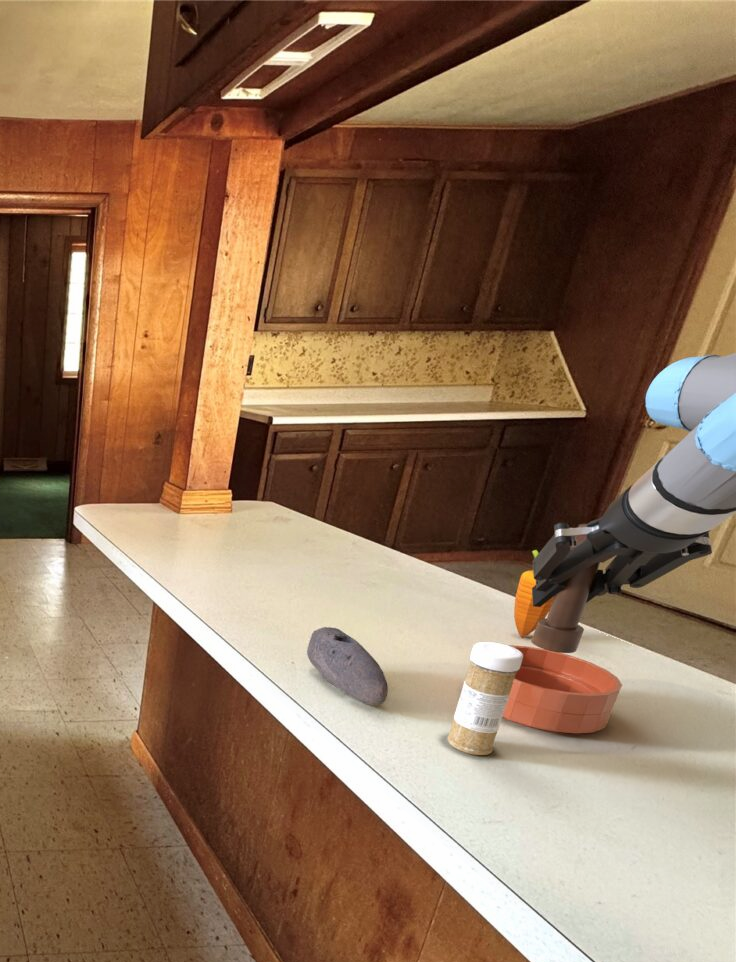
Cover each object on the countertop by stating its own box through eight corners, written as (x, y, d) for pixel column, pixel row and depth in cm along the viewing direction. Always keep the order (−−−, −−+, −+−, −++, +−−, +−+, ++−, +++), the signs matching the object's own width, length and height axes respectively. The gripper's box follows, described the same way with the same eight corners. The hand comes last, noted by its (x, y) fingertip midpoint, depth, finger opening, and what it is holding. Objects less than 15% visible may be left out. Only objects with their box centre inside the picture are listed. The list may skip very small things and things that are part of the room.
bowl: (591, 697, 91) (606, 659, 89) (618, 749, 80) (636, 706, 78) (463, 674, 98) (473, 637, 96) (471, 718, 87) (484, 678, 85)
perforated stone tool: (397, 715, 89) (409, 669, 86) (358, 716, 89) (369, 670, 86) (334, 664, 103) (342, 623, 100) (300, 665, 103) (308, 624, 100)
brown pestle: (572, 643, 86) (615, 524, 80) (579, 656, 83) (625, 533, 77) (528, 636, 89) (567, 520, 83) (534, 648, 85) (574, 529, 79)
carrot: (495, 630, 112) (522, 545, 106) (528, 631, 111) (556, 545, 106) (515, 642, 107) (543, 555, 102) (549, 643, 107) (580, 555, 101)
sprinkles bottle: (489, 742, 82) (521, 645, 77) (493, 761, 79) (527, 660, 74) (444, 732, 85) (472, 637, 80) (446, 750, 81) (475, 652, 76)
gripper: (776, 477, 65) (630, 580, 86) (569, 470, 71) (478, 567, 92) (790, 543, 63) (636, 633, 83) (574, 530, 69) (480, 617, 89)
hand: (553, 599), depth 87 cm, fingers closed on brown pestle, 3 cm apart
